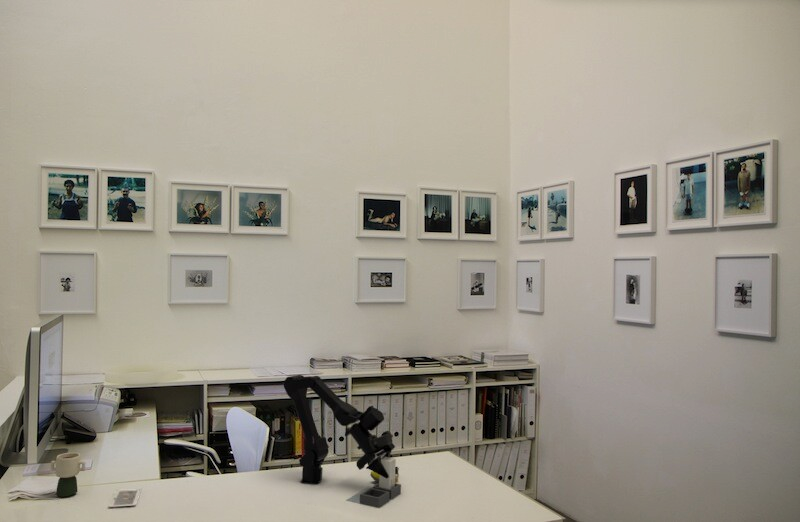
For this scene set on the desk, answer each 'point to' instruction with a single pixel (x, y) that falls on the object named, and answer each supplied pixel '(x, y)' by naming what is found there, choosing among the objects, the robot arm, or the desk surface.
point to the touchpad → (125, 497)
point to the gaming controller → (376, 475)
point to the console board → (376, 495)
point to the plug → (390, 469)
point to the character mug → (67, 472)
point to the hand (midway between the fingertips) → (390, 475)
